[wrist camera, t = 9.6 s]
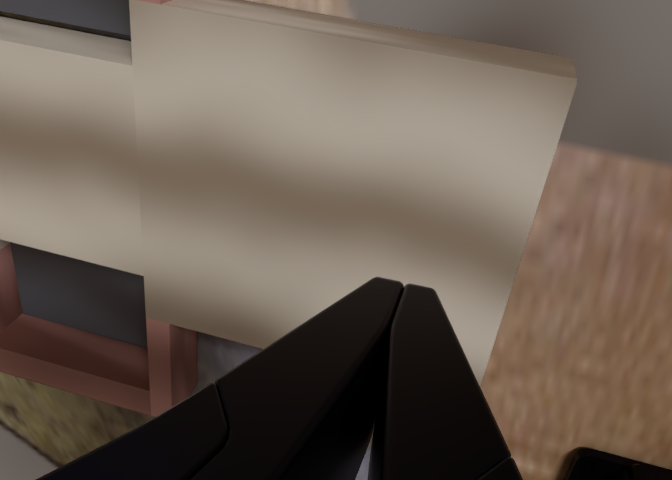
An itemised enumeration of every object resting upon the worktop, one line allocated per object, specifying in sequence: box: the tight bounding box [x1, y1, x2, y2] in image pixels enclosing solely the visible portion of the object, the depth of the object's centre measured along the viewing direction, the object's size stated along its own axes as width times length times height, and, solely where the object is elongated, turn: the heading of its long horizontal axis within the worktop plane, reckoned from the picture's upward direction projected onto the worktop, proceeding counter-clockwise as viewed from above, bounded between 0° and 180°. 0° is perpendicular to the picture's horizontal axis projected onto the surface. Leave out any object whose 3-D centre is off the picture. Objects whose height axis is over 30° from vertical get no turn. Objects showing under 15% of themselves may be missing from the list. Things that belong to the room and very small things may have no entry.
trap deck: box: [0, 0, 578, 417], centre depth 22 cm, size 23×34×6 cm
